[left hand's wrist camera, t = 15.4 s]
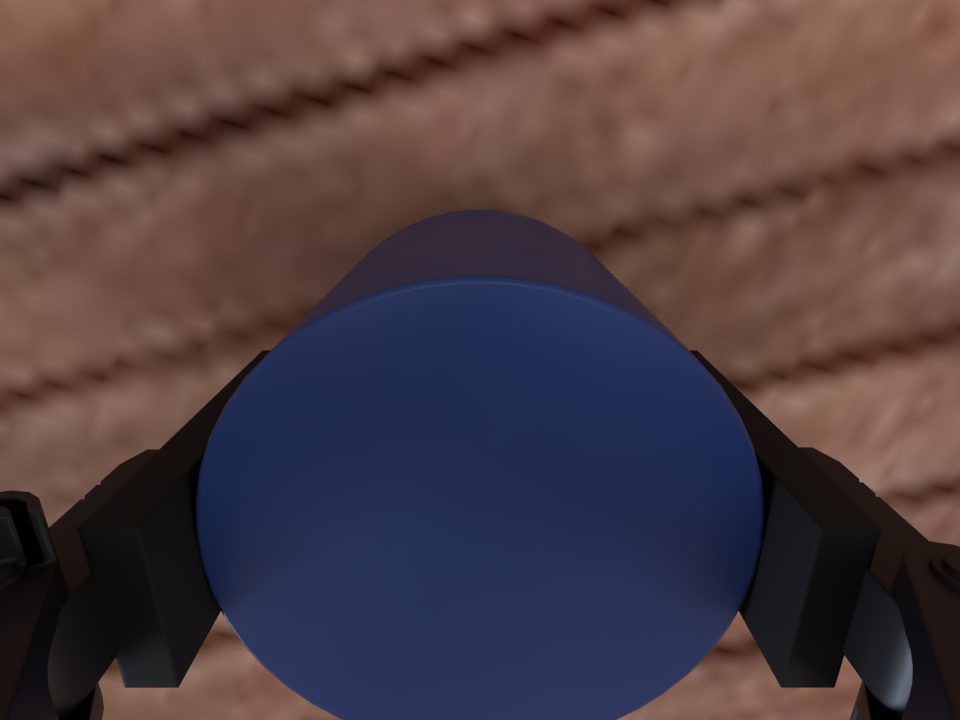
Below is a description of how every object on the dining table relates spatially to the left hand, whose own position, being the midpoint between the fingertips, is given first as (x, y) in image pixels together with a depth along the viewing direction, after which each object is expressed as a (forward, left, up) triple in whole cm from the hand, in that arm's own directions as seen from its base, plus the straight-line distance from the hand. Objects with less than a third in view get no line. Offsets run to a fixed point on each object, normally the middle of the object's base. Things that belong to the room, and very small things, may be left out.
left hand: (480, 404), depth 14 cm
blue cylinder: (0, 0, -2) cm, 2 cm away
